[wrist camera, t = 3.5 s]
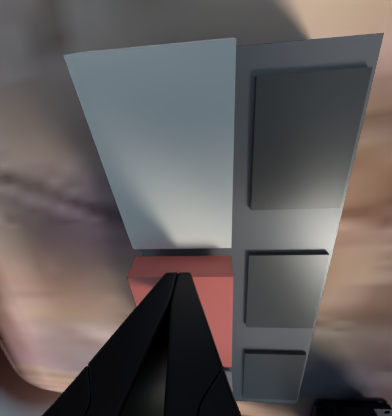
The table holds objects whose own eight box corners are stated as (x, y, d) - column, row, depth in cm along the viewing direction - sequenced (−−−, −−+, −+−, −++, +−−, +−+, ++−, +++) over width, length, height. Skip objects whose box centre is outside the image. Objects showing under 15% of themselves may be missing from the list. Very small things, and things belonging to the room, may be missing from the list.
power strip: (280, 342, 18) (301, 419, 14) (179, 340, 19) (169, 412, 14) (321, 56, 10) (405, 25, 6) (140, 71, 11) (89, 54, 6)
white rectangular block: (229, 228, 9) (231, 247, 8) (139, 230, 9) (132, 249, 8) (232, 37, 5) (236, 38, 4) (83, 51, 6) (63, 54, 5)
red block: (230, 344, 11) (231, 366, 11) (159, 343, 12) (155, 364, 11) (231, 255, 8) (233, 276, 8) (135, 256, 9) (126, 277, 8)
